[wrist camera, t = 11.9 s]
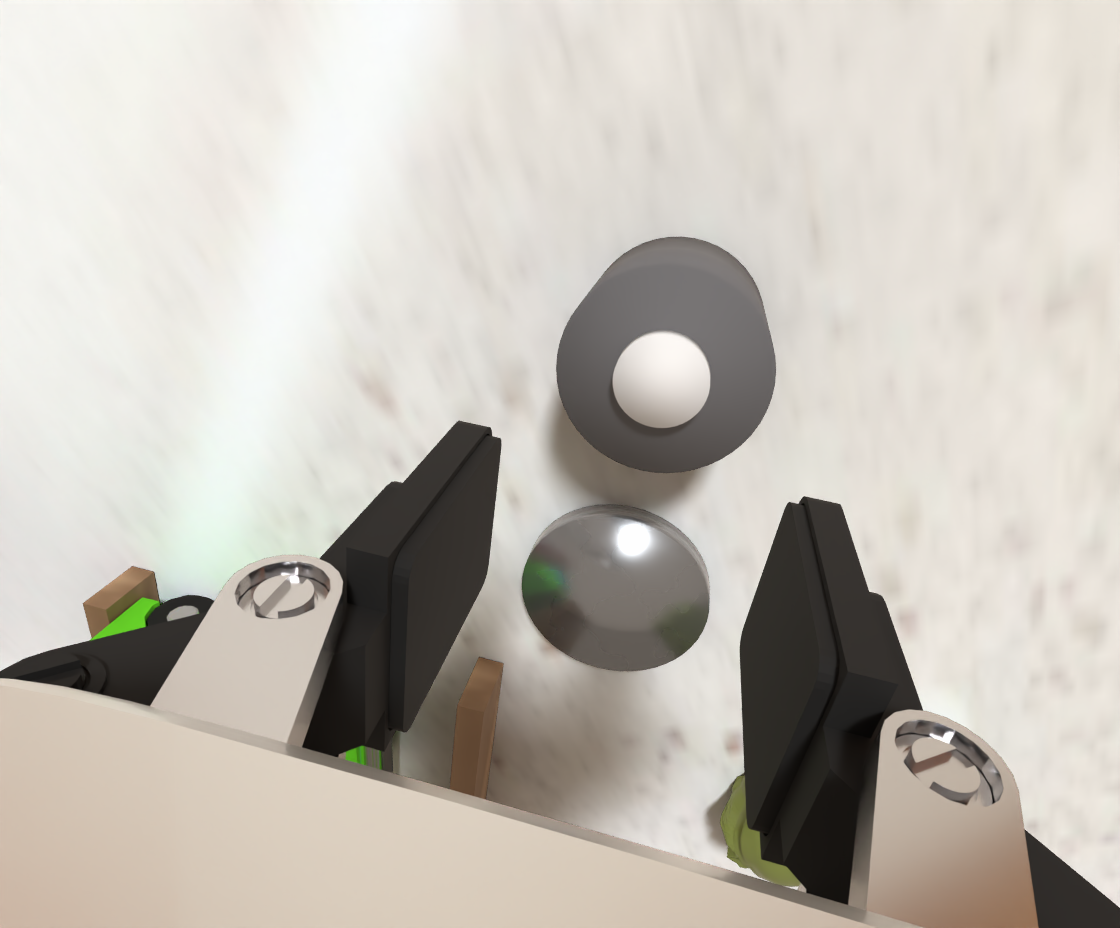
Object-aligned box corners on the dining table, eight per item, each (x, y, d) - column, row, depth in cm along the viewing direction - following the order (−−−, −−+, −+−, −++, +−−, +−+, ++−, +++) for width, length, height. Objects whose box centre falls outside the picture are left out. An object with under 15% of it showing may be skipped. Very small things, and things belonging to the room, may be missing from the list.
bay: (172, 766, 41) (135, 810, 38) (132, 566, 34) (82, 603, 31) (477, 857, 39) (460, 911, 36) (503, 663, 31) (483, 712, 29)
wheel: (574, 391, 25) (539, 457, 20) (602, 221, 22) (568, 249, 17) (738, 425, 24) (742, 503, 19) (787, 254, 21) (808, 294, 16)
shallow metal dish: (518, 630, 30) (513, 645, 29) (539, 485, 27) (533, 498, 26) (686, 673, 29) (685, 690, 29) (730, 529, 26) (731, 543, 25)
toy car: (408, 768, 36) (310, 970, 28) (188, 711, 38) (32, 884, 30) (406, 622, 32) (287, 812, 23) (155, 566, 34) (-42, 721, 25)
